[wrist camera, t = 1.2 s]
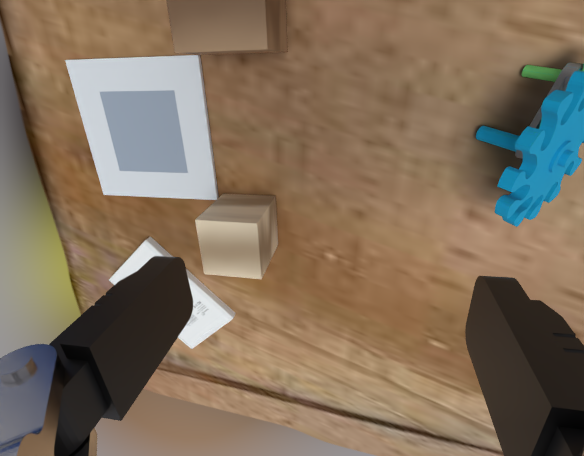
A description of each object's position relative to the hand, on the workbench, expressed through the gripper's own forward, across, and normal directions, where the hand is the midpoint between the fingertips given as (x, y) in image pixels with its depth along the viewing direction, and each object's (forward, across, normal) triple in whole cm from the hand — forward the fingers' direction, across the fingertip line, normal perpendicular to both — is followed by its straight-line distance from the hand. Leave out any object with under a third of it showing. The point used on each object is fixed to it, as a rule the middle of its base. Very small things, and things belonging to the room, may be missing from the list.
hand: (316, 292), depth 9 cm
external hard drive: (+21, +19, +17) cm, 33 cm away
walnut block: (+20, +8, -10) cm, 24 cm away
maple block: (+20, +9, +7) cm, 23 cm away
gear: (+21, -13, 0) cm, 24 cm away
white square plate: (+20, +18, -1) cm, 27 cm away
